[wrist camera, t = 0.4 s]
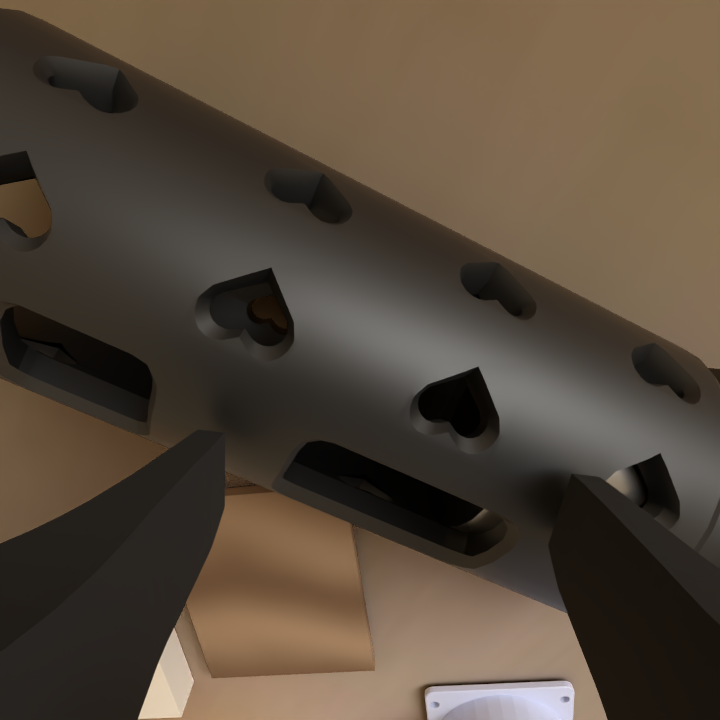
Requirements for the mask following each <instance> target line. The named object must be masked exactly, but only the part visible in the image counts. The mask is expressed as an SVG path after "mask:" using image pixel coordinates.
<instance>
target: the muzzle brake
mask: <svg viewBox="0 0 720 720" xmlns="http://www.w3.org/2000/svg"><path fill="white" fill-rule="evenodd" d="M34 178H36V180H37V183H38V185H39V187H40V189H41V191H42V193H43V195H44V197H45V199H46V201H47V203H48V205H49V207H50V209H51V219H52V225H51V227H50V229H49V230H48V231H47V232H46V233H45V234H43V235H42V236H39V237H36V238H28V237H27V235H26V234H25V233H24V231H23V230H22V229H21V228H20V227H18V226H16V225H15V224H13V223H11V222H9V221H8V220H6V219H4V218H0V378H1V379H4V380H6V381H9V382H11V383H13V384H16V385H18V386H21V387H23V388H25V389H28V390H30V391H33V392H35V393H37V394H40V395H42V396H45V397H47V398H50V399H52V400H54V401H57V402H59V403H62V404H64V405H66V406H69V407H71V408H74V409H76V410H78V411H81V412H83V413H86V414H88V415H90V416H93V417H95V418H98V419H100V420H103V421H105V422H107V423H110V424H112V425H115V426H117V427H119V428H122V429H124V430H127V431H129V432H131V433H134V434H136V435H139V436H141V437H143V438H146V439H148V440H151V441H153V442H156V443H158V444H160V445H163V446H165V447H168V448H172V447H173V446H175V445H176V444H177V443H179V442H180V441H182V440H183V439H185V438H186V437H187V436H189V435H190V434H192V433H193V432H195V431H196V430H206V431H215V432H223V433H225V472H228V473H230V474H233V475H235V476H237V477H240V478H242V479H245V480H247V481H250V482H252V483H254V484H257V485H259V486H262V487H264V488H266V489H269V490H271V491H274V492H276V493H278V494H281V495H283V496H286V497H288V498H290V499H293V500H295V501H298V502H300V503H303V504H305V505H307V506H310V507H312V508H315V509H317V510H319V511H322V512H324V513H327V514H329V515H331V516H334V517H336V518H339V519H341V520H344V521H346V522H348V523H351V524H353V525H356V526H358V527H360V528H363V529H365V530H368V531H370V532H372V533H375V534H377V535H380V536H382V537H384V538H387V539H389V540H392V541H394V542H397V543H399V544H401V545H404V546H406V547H409V548H411V549H413V550H416V551H418V552H421V553H423V554H425V555H428V556H430V557H433V558H435V559H437V560H440V561H442V562H445V563H447V564H450V565H452V566H454V567H457V568H459V569H462V570H464V571H466V572H469V573H471V574H474V575H476V576H478V577H481V578H483V579H486V580H488V581H491V582H493V583H495V584H498V585H500V586H503V587H505V588H507V589H510V590H512V591H515V592H517V593H519V594H522V595H524V596H527V597H529V598H531V599H534V600H536V601H539V602H541V603H544V604H546V605H548V606H551V607H553V608H556V609H558V610H560V611H563V612H565V613H567V610H566V608H565V605H564V602H563V600H562V597H561V594H560V592H559V589H558V585H557V581H556V577H555V573H554V570H553V565H552V561H551V556H550V552H549V547H548V544H549V541H550V538H551V535H552V531H553V528H554V525H555V522H556V519H557V516H558V513H559V510H560V507H561V504H562V501H563V498H564V495H565V492H566V489H567V486H568V483H569V480H570V477H571V474H580V475H589V476H597V477H600V478H602V479H603V480H605V481H606V482H608V483H609V484H610V485H612V486H613V487H614V488H616V489H617V490H618V491H620V492H621V493H622V494H624V495H625V496H626V497H627V498H629V499H630V500H631V501H633V502H634V503H635V504H636V505H638V506H639V507H640V508H641V509H643V510H644V511H645V512H646V513H648V514H649V515H650V516H651V517H653V518H654V519H655V520H656V521H658V522H659V523H660V524H661V525H663V526H664V527H665V528H666V529H668V530H669V531H670V532H671V533H673V534H674V535H675V536H677V537H678V538H679V539H680V540H682V541H683V542H684V543H686V544H687V545H688V546H690V547H691V548H692V549H694V550H695V551H696V552H697V553H699V554H700V555H701V556H703V557H704V558H705V559H707V560H708V561H710V562H711V563H712V564H714V565H715V566H717V567H718V568H719V569H720V369H713V368H707V367H706V366H705V364H704V363H703V362H702V361H701V360H700V359H699V358H698V357H696V356H694V355H693V354H691V353H689V352H688V351H686V350H684V349H683V348H681V347H679V346H677V345H675V344H673V343H671V342H669V341H667V340H665V339H663V338H661V337H659V336H657V335H655V334H654V333H652V332H650V331H648V330H646V329H644V328H642V327H640V326H638V325H636V324H634V323H632V322H630V321H628V320H626V319H624V318H622V317H620V316H618V315H616V314H615V313H613V312H611V311H609V310H607V309H605V308H603V307H601V306H599V305H597V304H595V303H593V302H591V301H589V300H587V299H585V298H583V297H581V296H579V295H578V294H576V293H574V292H572V291H570V290H568V289H566V288H564V287H562V286H560V285H558V284H556V283H554V282H552V281H550V280H548V279H546V278H544V277H542V276H541V275H539V274H537V273H535V272H533V271H531V270H529V269H527V268H525V267H523V266H521V265H519V264H517V263H515V262H513V261H511V260H509V259H507V258H505V257H504V256H502V255H500V254H498V253H496V252H494V251H492V250H490V249H488V248H486V247H484V246H482V245H480V244H478V243H476V242H474V241H472V240H470V239H468V238H467V237H465V236H463V235H461V234H459V233H457V232H455V231H453V230H451V229H449V228H447V227H445V226H443V225H441V224H439V223H437V222H435V221H433V220H431V219H430V218H428V217H426V216H424V215H422V214H420V213H418V212H416V211H414V210H412V209H410V208H408V207H406V206H404V205H402V204H400V203H398V202H396V201H394V200H393V199H391V198H389V197H387V196H385V195H383V194H381V193H379V192H377V191H375V190H373V189H371V188H369V187H367V186H365V185H363V184H361V183H359V182H357V181H356V180H354V179H352V178H350V177H348V176H346V175H344V174H342V173H340V172H338V171H336V170H334V169H332V168H330V167H328V166H326V165H324V164H322V163H320V162H319V161H317V160H315V159H313V158H311V157H309V156H307V155H305V154H303V153H301V152H299V151H297V150H295V149H293V148H291V147H289V146H287V145H285V144H283V143H282V142H280V141H278V140H276V139H274V138H272V137H270V136H268V135H266V134H264V133H262V132H260V131H258V130H256V129H254V128H252V127H250V126H248V125H246V124H245V123H243V122H241V121H239V120H237V119H235V118H233V117H231V116H229V115H227V114H225V113H223V112H221V111H219V110H217V109H215V108H213V107H211V106H209V105H207V104H206V103H204V102H202V101H200V100H198V99H196V98H194V97H192V96H190V95H188V94H186V93H184V92H182V91H180V90H178V89H176V88H174V87H172V86H170V85H169V84H167V83H165V82H163V81H161V80H159V79H157V78H155V77H153V76H151V75H149V74H147V73H145V72H143V71H141V70H139V69H137V68H135V67H133V66H132V65H130V64H128V63H126V62H124V61H122V60H120V59H118V58H116V57H114V56H112V55H110V54H108V53H106V52H104V51H102V50H100V49H98V48H96V47H95V46H93V45H91V44H89V43H87V42H85V41H83V40H81V39H79V38H77V37H75V36H73V35H71V34H69V33H67V32H65V31H63V30H61V29H59V28H58V27H56V26H54V25H52V24H50V23H48V22H46V21H44V20H42V19H39V18H37V17H34V16H32V15H30V14H27V13H25V12H22V11H19V10H10V9H1V8H0V185H3V184H8V183H13V182H18V181H24V180H29V179H34ZM273 294H274V296H275V298H276V300H277V302H278V304H279V306H280V308H281V310H282V312H283V314H284V316H285V318H286V320H287V329H283V328H281V327H279V326H278V325H276V323H275V322H274V321H273V319H272V318H270V319H262V318H259V317H257V316H256V315H255V314H254V313H253V310H252V304H253V301H254V300H255V299H257V298H259V297H264V296H268V295H273Z"/></svg>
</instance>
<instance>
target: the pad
mask: <svg viewBox="0 0 720 720" xmlns="http://www.w3.org/2000/svg"><path fill="white" fill-rule="evenodd" d="M186 605H187V608H188V611H189V613H190V616H191V619H192V622H193V625H194V628H195V631H196V634H197V636H198V639H199V642H200V645H201V648H202V651H203V654H204V657H205V659H206V662H207V665H208V668H209V671H210V674H211V677H212V678H227V677H248V676H269V675H290V674H311V673H332V672H352V671H373V670H375V659H374V652H373V646H372V640H371V634H370V628H369V622H368V616H367V610H366V604H365V598H364V592H363V586H362V580H361V574H360V568H359V562H358V556H357V550H356V544H355V538H354V532H353V526H352V524H351V523H348V522H346V521H344V520H341V519H339V518H336V517H334V516H331V515H329V514H327V513H324V512H322V511H319V510H317V509H315V508H312V507H310V506H307V505H305V504H303V503H300V502H298V501H295V500H293V499H290V498H288V497H286V496H283V495H281V494H278V493H276V492H274V491H271V490H269V489H266V488H264V487H262V486H259V485H257V486H245V487H232V488H225V508H224V511H223V514H222V517H221V521H220V524H219V527H218V530H217V533H216V536H215V539H214V542H213V545H212V548H211V550H210V552H209V555H208V557H207V559H206V561H205V563H204V565H203V567H202V570H201V572H200V574H199V576H198V578H197V580H196V582H195V585H194V587H193V589H192V591H191V593H190V595H189V597H188V599H187V601H186Z"/></svg>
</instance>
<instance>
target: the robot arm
mask: <svg viewBox="0 0 720 720" xmlns="http://www.w3.org/2000/svg"><path fill="white" fill-rule="evenodd" d="M224 508H225V433H223V432H215V431H206V430H196V431H195V432H193V433H192V434H190V435H189V436H187V437H186V438H185V439H183V440H182V441H180V442H179V443H177V444H176V445H175V446H173V447H172V448H170V449H169V450H168V451H166V452H165V453H163V454H162V455H160V456H159V457H157V458H156V459H154V460H153V461H152V462H150V463H149V464H147V465H146V466H144V467H143V468H141V469H140V470H138V471H137V472H135V473H134V474H132V475H131V476H129V477H127V478H126V479H124V480H122V481H121V482H119V483H118V484H116V485H114V486H113V487H111V488H109V489H108V490H106V491H104V492H103V493H101V494H100V495H98V496H96V497H95V498H93V499H91V500H90V501H88V502H86V503H84V504H82V505H81V506H79V507H77V508H75V509H73V510H71V511H69V512H68V513H66V514H64V515H62V516H60V517H58V518H56V519H54V520H52V521H50V522H48V523H46V524H44V525H42V526H40V527H37V528H35V529H33V530H31V531H29V532H26V533H24V534H22V535H19V536H17V537H15V538H12V539H10V540H8V541H5V542H3V543H1V544H0V720H138V717H139V715H140V712H141V709H142V706H143V704H144V701H145V698H146V695H147V693H148V690H149V687H150V684H151V681H152V679H153V676H154V673H155V670H156V668H157V665H158V663H159V660H160V658H161V656H162V653H163V651H164V648H165V646H166V644H167V641H168V639H169V637H170V635H171V633H172V631H173V629H174V627H175V625H176V622H177V620H178V618H179V616H180V614H181V612H182V610H183V608H184V606H185V604H186V601H187V599H188V597H189V595H190V593H191V591H192V589H193V587H194V585H195V582H196V580H197V578H198V576H199V574H200V572H201V570H202V567H203V565H204V563H205V561H206V559H207V557H208V555H209V552H210V550H211V548H212V545H213V542H214V539H215V536H216V533H217V530H218V527H219V524H220V521H221V517H222V514H223V511H224ZM548 547H549V552H550V556H551V561H552V565H553V570H554V573H555V577H556V581H557V585H558V589H559V592H560V594H561V597H562V600H563V602H564V605H565V608H566V610H567V613H568V616H569V618H570V621H571V624H572V626H573V629H574V631H575V634H576V636H577V639H578V641H579V644H580V647H581V649H582V652H583V654H584V657H585V659H586V662H587V664H588V667H589V670H590V672H591V675H592V677H593V680H594V682H595V685H596V688H597V690H598V693H599V696H600V699H601V701H602V704H603V707H604V710H605V713H606V716H607V719H608V720H720V569H719V568H718V567H717V566H715V565H714V564H712V563H711V562H710V561H708V560H707V559H705V558H704V557H703V556H701V555H700V554H699V553H697V552H696V551H695V550H694V549H692V548H691V547H690V546H688V545H687V544H686V543H684V542H683V541H682V540H680V539H679V538H678V537H677V536H675V535H674V534H673V533H671V532H670V531H669V530H668V529H666V528H665V527H664V526H663V525H661V524H660V523H659V522H658V521H656V520H655V519H654V518H653V517H651V516H650V515H649V514H648V513H646V512H645V511H644V510H643V509H641V508H640V507H639V506H638V505H636V504H635V503H634V502H633V501H631V500H630V499H629V498H627V497H626V496H625V495H624V494H622V493H621V492H620V491H618V490H617V489H616V488H614V487H613V486H612V485H610V484H609V483H608V482H606V481H605V480H603V479H602V478H600V477H597V476H589V475H580V474H571V477H570V480H569V483H568V486H567V489H566V492H565V495H564V498H563V501H562V504H561V507H560V510H559V513H558V516H557V519H556V522H555V525H554V528H553V531H552V535H551V538H550V541H549V544H548ZM425 703H426V711H427V720H573V709H574V689H573V686H572V684H571V683H570V682H568V681H542V682H520V683H498V684H475V685H453V686H432V687H429V688H427V689H426V690H425Z"/></svg>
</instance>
